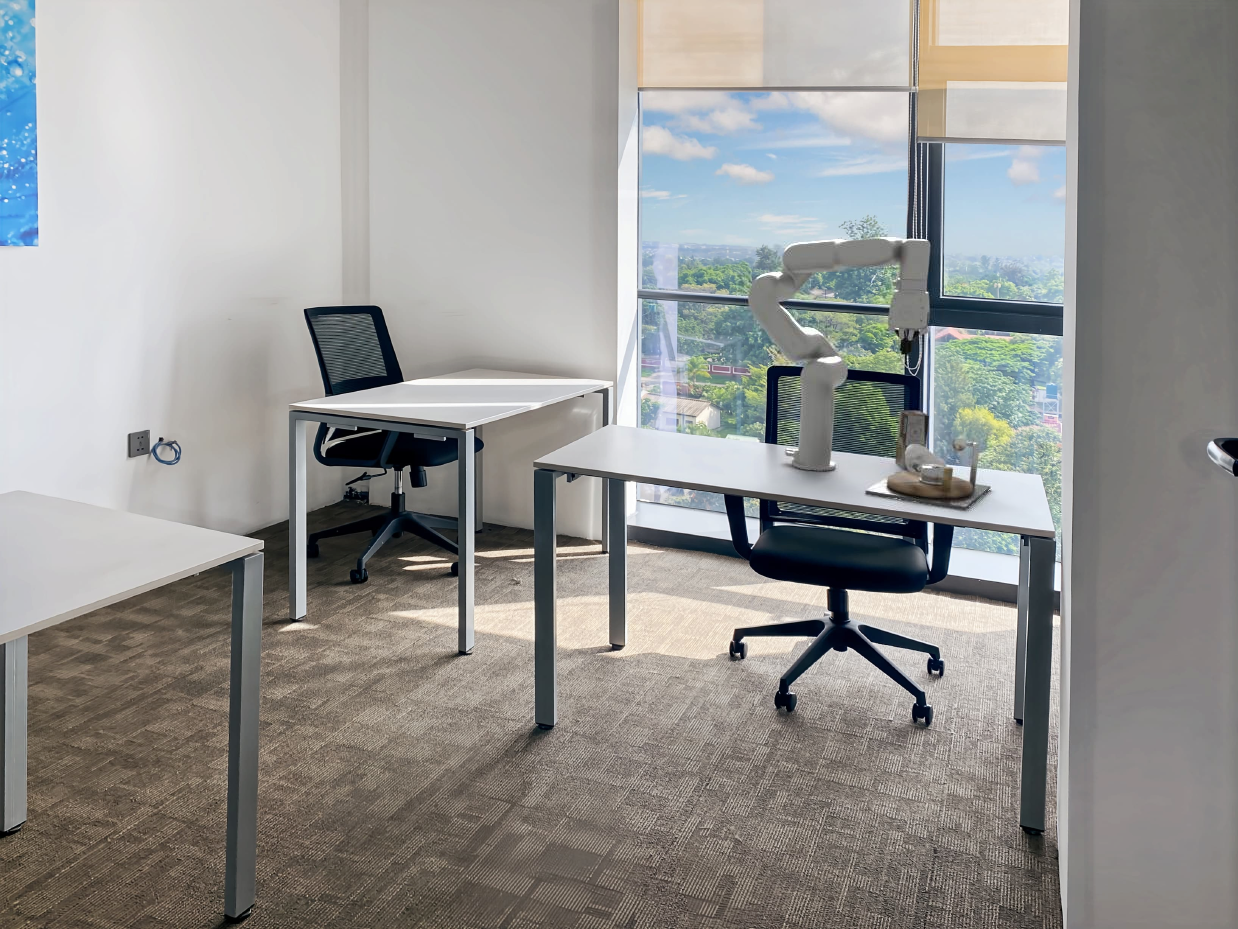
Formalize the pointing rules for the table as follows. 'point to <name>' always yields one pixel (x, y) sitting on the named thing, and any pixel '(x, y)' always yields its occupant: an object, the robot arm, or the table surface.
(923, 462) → the white rounded lump
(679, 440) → the table surface
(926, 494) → the turntable
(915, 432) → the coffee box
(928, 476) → the cover
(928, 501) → the turntable base
